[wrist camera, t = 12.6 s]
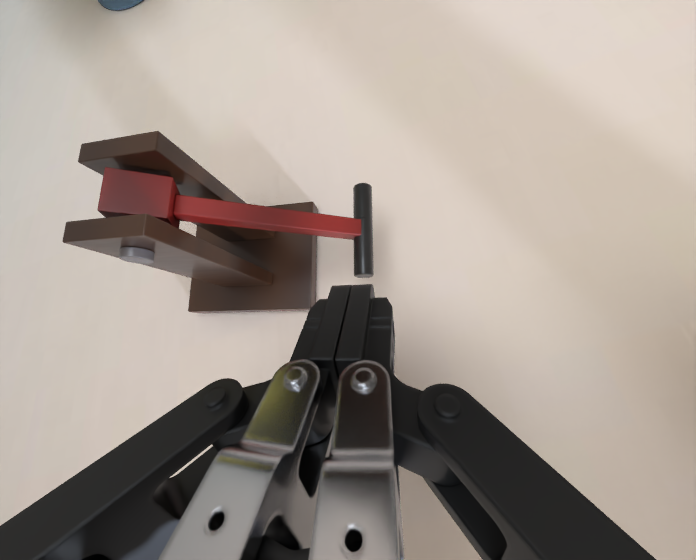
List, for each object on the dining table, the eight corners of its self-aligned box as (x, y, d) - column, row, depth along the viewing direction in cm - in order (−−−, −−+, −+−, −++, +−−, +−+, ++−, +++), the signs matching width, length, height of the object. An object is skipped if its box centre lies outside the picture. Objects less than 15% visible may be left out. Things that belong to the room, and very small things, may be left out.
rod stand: (317, 207, 26) (226, 79, 13) (315, 310, 24) (208, 278, 11) (207, 218, 28) (36, 117, 15) (198, 313, 26) (-3, 288, 13)
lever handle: (364, 196, 21) (378, 179, 18) (365, 280, 20) (380, 272, 17) (129, 159, 16) (110, 130, 14) (112, 264, 15) (89, 250, 13)
